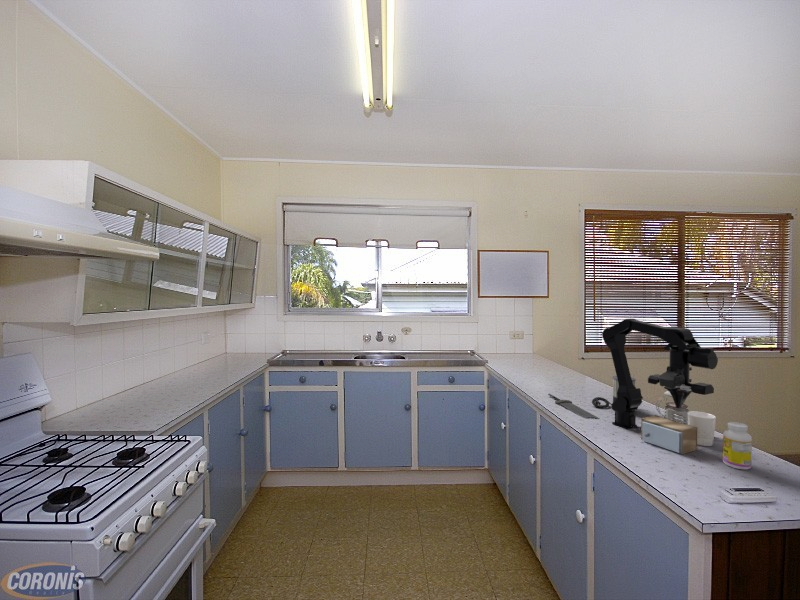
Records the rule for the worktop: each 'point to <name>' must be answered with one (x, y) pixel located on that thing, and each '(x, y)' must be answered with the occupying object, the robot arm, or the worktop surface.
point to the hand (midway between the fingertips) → (678, 408)
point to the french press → (669, 413)
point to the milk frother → (615, 389)
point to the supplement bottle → (737, 446)
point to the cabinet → (687, 430)
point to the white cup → (703, 427)
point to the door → (662, 437)
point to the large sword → (574, 408)
